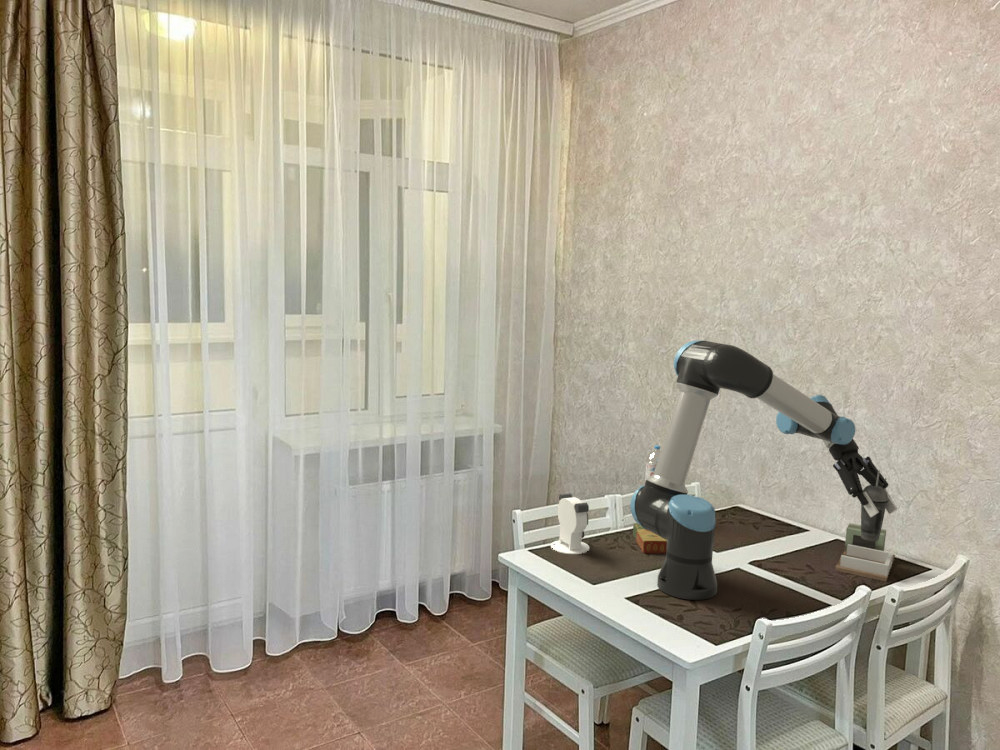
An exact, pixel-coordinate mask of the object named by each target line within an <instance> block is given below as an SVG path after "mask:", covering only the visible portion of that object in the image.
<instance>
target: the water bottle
mask: <svg viewBox="0 0 1000 750" xmlns="http://www.w3.org/2000/svg"><path fill="white" fill-rule="evenodd" d="M660 452H661V446H660V445H657V444H656V445H654V450H652V451H651V452H649V453H648V455H647V456H646V458H645V474H644V475H645V476H644V484H643V485H645V482H646V479H647V478H648V477H650V476H652V475H653V474H654V472H655V469H656V465H657V462H658V459H659V456H660Z"/></svg>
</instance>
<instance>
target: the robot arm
mask: <svg viewBox="0 0 1000 750" xmlns="http://www.w3.org/2000/svg"><path fill="white" fill-rule="evenodd" d="M673 369H674V373H675V374H676V376H677V379H676V382H675V385H676V387H677V389H678V391H679V392H678V394H677V396H676V397H677V398H676V399H675V400H676V401H675V404H674V407H673V410H672V413H671V414H672V415H671V418H670V420H669V423H668V426H667V430H666V433H665V437H664V440H663V443H662V446H661V448H660V451H661V452H660V456H659V459H658V462H657V465H656V469H655V472H654V474H653V475H652V476H650V477H648V478H647V479H646V482H645V481H644V484H645V485H644V484H643V485H641V486H639V487H638V489H636V490H635V491H634V492H633V494H632V496H631V498H630V499H631V500H630V513H631V516H632V518H633V520H634V521H635V522H636V524H639V525H641V526H642V527H643V528H644V529H646V530H648V531H651V532H653V533H655V534H656V535H658V536H660V537H662V538H664V539H666V540H667V549H666V554H665V559H664V560H663V563H662V565H661V568H660V570H659V572H658V574H657V575H658V576H657V585H656V586H657V588H658V589H659V590H661V592H662V593H664V594H666V595H668V596H671V597H674V598H679V599H683V600H693V601H694V600H695V601H696V600H697V601H698V600H699V601H700V600H701V601H702V600H707V599H711V598H714V597H715V596H716V595H717V592H718V581H717V577H716V573H715V569H714V565H713V554H714V543H715V531H716V530H715V529H716V524H717V521H716V510H715V508H714V507H715V506H714V505H713V504H712V503H711V502H709V500H707V499H705V498H702V497H699V496H694V495H691V494H688V493H689V491H688V489H687V487H686V480H687V477H688V474H689V471H690V468H691V467H690V466H691V463H692V461H693V458H694V454H695V451H696V449H697V448H696V447H697V445H698V441H699V438H700V436H701V435H700V434H701V432H702V429H703V425H704V422H705V419H706V416H707V411H708V409H709V406H710V402H711V400H712V399H715V398H716V397H718V396H719V392H720V389H723V390H728V391H732V392H736V393H739V394H742V395H743V396H746V397H747V398H748V399H752V400H753V399H757V400H760V401H761V402H763V403H764V404H766V405H767V406H769V407H770V408H772V409H774V410H775V411H777V412H778V413H777V414H776V419H775V420H776V421H775V424H776V427H777V429H778V431H780V433H782V434H784V435H794V434H799V435H803V436H807V437H810V438H815V439H819V440H822V441H823V443H824V445H825V446H826V448H827V449H828V452H829V453H830V455H831V457H832V459H833V460H834V461H835V463H833V464H832V467H833V468H834V470H835V471H836V472H837V474H838V476H839V478H840V480H841V482H842V483H843V486H844V488H845V490H846V491H847V493H848V495H850V496H852V497H853V498H857V500H858V501H859V502H860V505H861V504H862V505H863V506H864V508H865V509H866V511H867V513H868V514H869V516H870V517H873V516H874V515H876V514H877V513H879V511H878V510H877V508H876V507H875V505H874V503H873V502H872V500H871V499H870V497H869V495H868V494H867V492H863V489H864V488H863V486H862V483H861V480H860V477H859V476H862V478H864V479H865V480H866V482H867V483H868V484H869V485H872V484H875V485H876V480H877V474H878V471H879V469H878V468H877V466H876V465H875V464H874V463H873V460H872V458H871V457H870V456H866V457H863V456H862V455H861V454H860V453H859V445H857V443H856V441H855V439H854V437H855V435H856V425H855V423H854V421H853V420H852V419H850V418H847V417H845V416H839V415H838V413H837V412H836V410H835V409H834V407H833V404H831V402H830V401H829V399H828V398H827V397H826V396H825V395H823V394H818V395H814V396H811V397H809V396H807V395H806V394H804V393H803V392H801V391H800V390H799V389H797V388H795V387H794V386H792V385H791V384H789V383H787V382H786V381H784V379H781V378H780V377H778V376H777V375H775V374H774V370H773V369H772V368H771V367H770V366H768V364H766V363H764V362H762V361H761V360H759V359H758V358H757V357H755V356H753V355H752V354H751V353H749V352H747V351H746V350H744V349H742V348H739V346H735V345H732V344H725V343H720V342H714V341H707V340H690V341H689V342H687V343H685V344H683V345H682V346H681V347H680V348H679V349H678V350H677V352H676V353H675V355H674V359H673ZM878 485H879V486H881V487H883V488H884V489H885V491H886V492H887V495H888V503H887V507H886V509H885V511H886V512H887V513H888V514H889V515H890V514H893V513H894V512H895V511H897V510H898V507H897V505H896V504H895V503H894V501H893V500H892V499H893V498H891V495H890V494H889V492H888V491H887V488H888V486H889V483H888V481H887V480H886V479H885V478H884V476H883V474H881V472H880V473H879V480H878ZM862 492H863V493H862Z"/></svg>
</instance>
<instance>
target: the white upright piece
mask: <svg viewBox="0 0 1000 750" xmlns="http://www.w3.org/2000/svg"><path fill="white" fill-rule="evenodd" d="M558 500H559V502H558V507H557V517H558V522H559V539H558V540H555V541H553V542H552V543H550V548H551V549H552V548H553V549H552V550H553V551H554V550H555V551H554V552H556V551H557V553H560V554H563V555H564V554H565V555H583V554H587V553H588V552H589V551H590V546H589V544H587V543H586V542H583V541H582V540H583V539H584V537H585V530H586V528H587V526H588V525H589V514H588V513H589V510H590V507H589V503H588V502H583V501H582V500H581V499H579V498H577V497H576V496H573V495H572V493H561V494H560V493H559V495H558ZM552 544H555V545H552ZM587 551H588V552H587ZM582 553H583V554H582Z"/></svg>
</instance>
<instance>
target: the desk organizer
mask: <svg viewBox="0 0 1000 750" xmlns="http://www.w3.org/2000/svg"><path fill="white" fill-rule="evenodd" d="M845 531H846V532H845V541H844V551H843V553H842V554H841V555H844V556H849V557H854V558H859V559H864V558H860V557H855V556H850V555H846V554H847V545H848V544H850V545H855V546H860V547H865V548H870V549H875V550H881V551H885V548H886V547H885V545H886V536H887V529H883V528H881V533H880V536H879V540H878V541H868V540H865V539H863V538H861V524H857V523H850V522H849V523H848V525H847V526H846V530H845ZM894 558H895V559H896V554H893V560H892V564H893V565H894V562H893V561H895V559H894ZM864 560H868V561H873V562H878V563H883V564H885V563H884V562H879V561H874V560H869V559H864ZM840 562H841V557H840V558H839V560H838V562H837V564H836V565H835V569H834V571H835V572H840V573H846V574H850V575H854V576H859V577H864V578H869V579H872V578H873V580H878V581H881V582H887V581H888V578H889V576H890V573H888V575H889V576H883V575H879V574H874V573H869V572H865V571H860V570H855V569H851V568H846V567H841V566H840ZM893 565H891V568H890V569H891V570H892V568H893ZM891 570H889V572H891Z"/></svg>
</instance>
